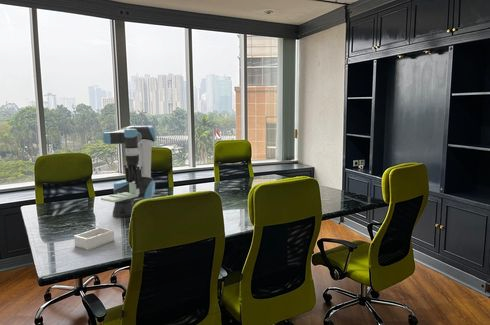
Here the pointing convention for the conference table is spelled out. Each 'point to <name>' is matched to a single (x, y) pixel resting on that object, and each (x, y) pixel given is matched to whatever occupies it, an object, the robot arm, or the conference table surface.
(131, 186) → the lid
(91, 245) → the tub
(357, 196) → the conference table surface
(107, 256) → the conference table surface
